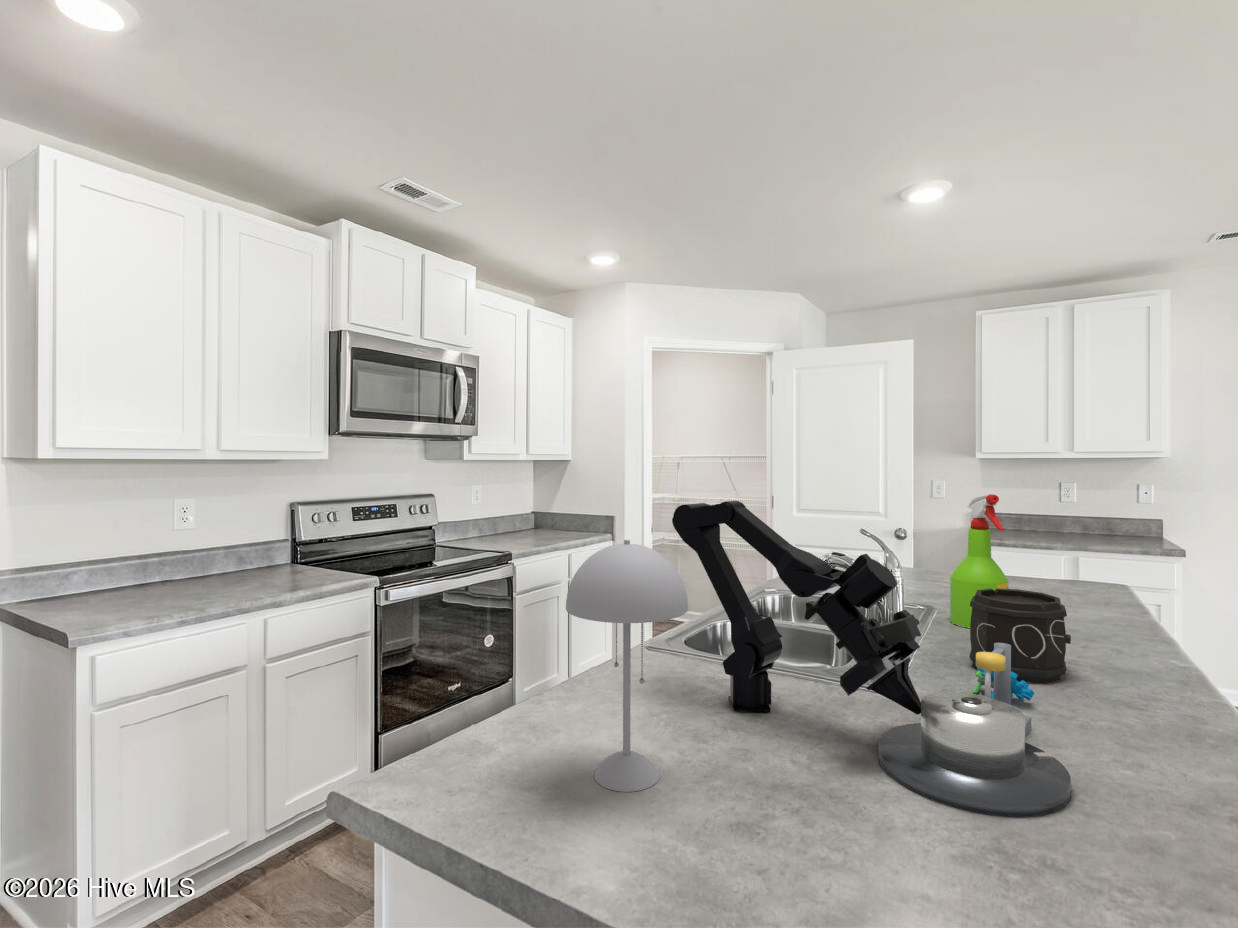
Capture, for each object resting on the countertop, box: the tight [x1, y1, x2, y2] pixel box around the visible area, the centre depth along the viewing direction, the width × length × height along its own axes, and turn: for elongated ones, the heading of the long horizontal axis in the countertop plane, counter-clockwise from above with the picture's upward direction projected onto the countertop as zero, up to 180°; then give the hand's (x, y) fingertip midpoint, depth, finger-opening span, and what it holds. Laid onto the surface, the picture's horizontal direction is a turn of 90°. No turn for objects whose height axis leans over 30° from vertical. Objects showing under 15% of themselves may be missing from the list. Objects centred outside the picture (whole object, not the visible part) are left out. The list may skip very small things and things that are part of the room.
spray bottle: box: [949, 493, 1009, 628], centre depth 174 cm, size 14×18×35 cm
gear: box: [972, 667, 1035, 702], centre depth 121 cm, size 11×6×10 cm
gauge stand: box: [976, 643, 1032, 738], centre depth 106 cm, size 13×7×14 cm, turn 137°
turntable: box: [877, 722, 1072, 818], centre depth 94 cm, size 24×24×2 cm
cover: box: [920, 691, 1026, 780], centre depth 94 cm, size 13×13×8 cm
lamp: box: [565, 539, 689, 793], centre depth 92 cm, size 17×17×33 cm
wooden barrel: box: [969, 588, 1072, 685], centre depth 138 cm, size 18×18×16 cm
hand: (921, 712), depth 98 cm, fingers closed
